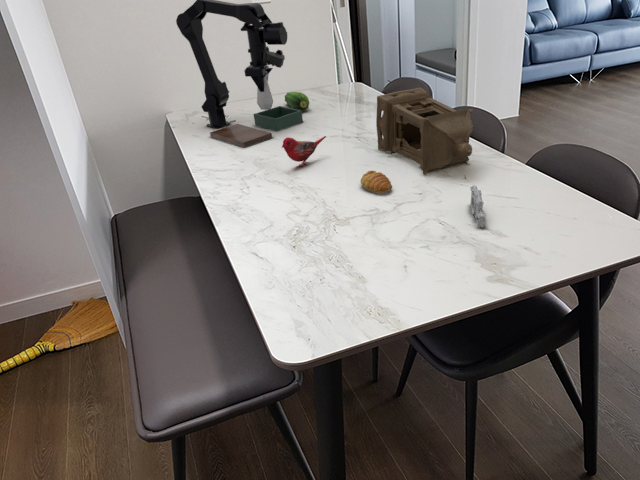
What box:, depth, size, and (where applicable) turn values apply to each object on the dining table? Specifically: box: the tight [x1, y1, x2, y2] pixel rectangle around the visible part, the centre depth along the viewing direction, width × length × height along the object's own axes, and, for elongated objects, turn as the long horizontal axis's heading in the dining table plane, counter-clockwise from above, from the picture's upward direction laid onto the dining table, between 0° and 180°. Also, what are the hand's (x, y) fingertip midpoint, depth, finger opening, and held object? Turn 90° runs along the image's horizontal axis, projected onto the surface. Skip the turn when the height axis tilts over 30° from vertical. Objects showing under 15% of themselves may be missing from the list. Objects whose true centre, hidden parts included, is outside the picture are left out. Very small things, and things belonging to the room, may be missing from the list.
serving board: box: [209, 123, 273, 149], centre depth 187 cm, size 20×12×2 cm, turn 46°
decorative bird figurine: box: [281, 135, 327, 168], centre depth 158 cm, size 3×18×10 cm, turn 137°
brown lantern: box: [375, 86, 474, 176], centre depth 152 cm, size 35×18×18 cm, turn 26°
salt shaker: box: [256, 71, 274, 111], centre depth 189 cm, size 6×6×13 cm
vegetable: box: [284, 91, 310, 112], centre depth 214 cm, size 7×7×20 cm
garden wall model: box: [469, 184, 486, 228], centre depth 123 cm, size 12×2×6 cm, turn 178°
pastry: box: [360, 170, 393, 195], centre depth 141 cm, size 9×7×4 cm
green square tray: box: [252, 105, 304, 132], centre depth 197 cm, size 13×13×4 cm
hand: (264, 91), depth 189 cm, fingers closed on salt shaker, 3 cm apart
